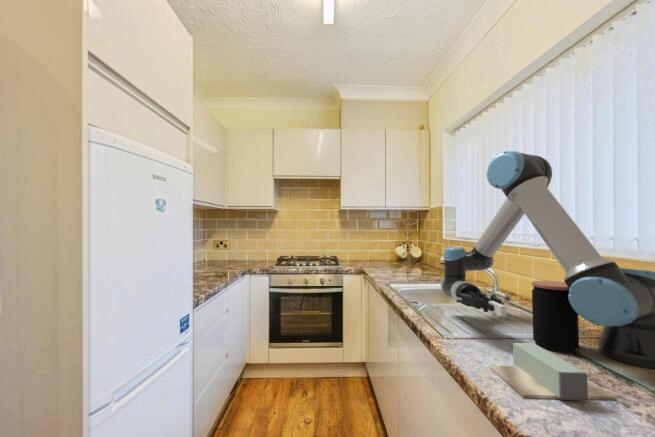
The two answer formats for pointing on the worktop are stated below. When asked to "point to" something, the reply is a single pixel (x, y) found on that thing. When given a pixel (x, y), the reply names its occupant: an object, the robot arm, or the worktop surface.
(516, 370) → the birch board
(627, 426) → the worktop surface
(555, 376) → the sage block
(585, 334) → the worktop surface
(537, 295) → the coffee jar
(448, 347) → the worktop surface
